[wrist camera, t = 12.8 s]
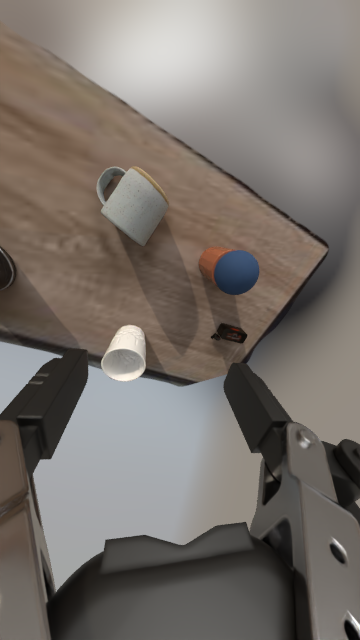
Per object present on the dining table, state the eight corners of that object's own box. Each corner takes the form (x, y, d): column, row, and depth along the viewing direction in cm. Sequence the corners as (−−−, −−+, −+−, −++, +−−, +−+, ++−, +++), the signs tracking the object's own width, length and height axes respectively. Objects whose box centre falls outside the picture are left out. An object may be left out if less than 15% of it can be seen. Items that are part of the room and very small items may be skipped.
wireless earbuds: (217, 320, 41) (222, 327, 38) (242, 327, 43) (248, 334, 40) (209, 336, 43) (213, 343, 40) (233, 342, 45) (239, 350, 42)
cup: (195, 275, 36) (207, 286, 28) (203, 243, 33) (218, 246, 25) (222, 280, 37) (241, 292, 29) (232, 250, 34) (255, 254, 26)
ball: (204, 284, 29) (216, 297, 23) (215, 244, 26) (231, 247, 21) (238, 291, 30) (257, 303, 25) (252, 253, 28) (276, 257, 22)
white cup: (149, 349, 42) (148, 378, 33) (117, 352, 42) (106, 384, 33) (145, 320, 39) (142, 346, 30) (110, 324, 38) (96, 350, 29)
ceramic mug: (170, 206, 30) (174, 197, 23) (144, 246, 32) (140, 248, 25) (115, 154, 26) (100, 124, 19) (90, 203, 28) (68, 192, 21)
